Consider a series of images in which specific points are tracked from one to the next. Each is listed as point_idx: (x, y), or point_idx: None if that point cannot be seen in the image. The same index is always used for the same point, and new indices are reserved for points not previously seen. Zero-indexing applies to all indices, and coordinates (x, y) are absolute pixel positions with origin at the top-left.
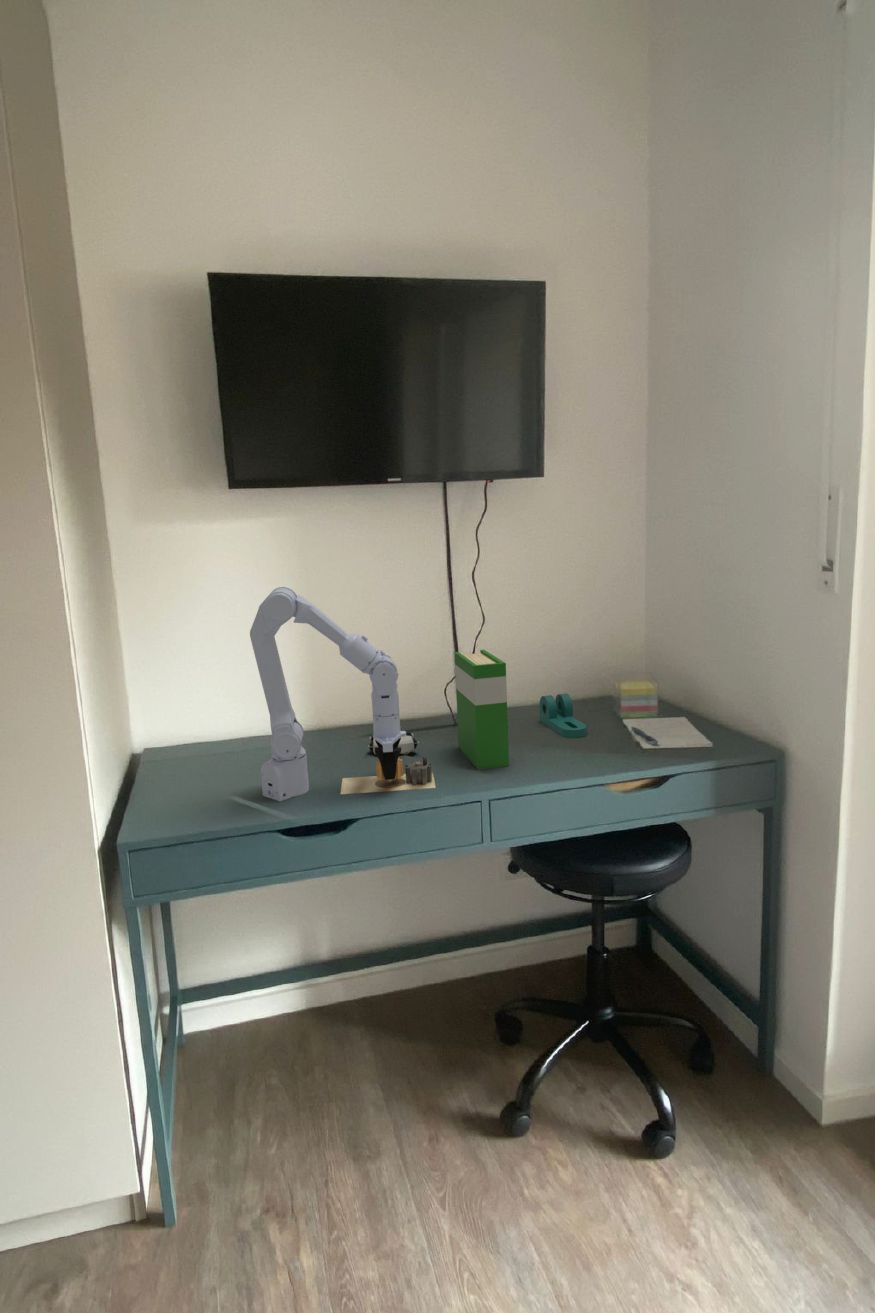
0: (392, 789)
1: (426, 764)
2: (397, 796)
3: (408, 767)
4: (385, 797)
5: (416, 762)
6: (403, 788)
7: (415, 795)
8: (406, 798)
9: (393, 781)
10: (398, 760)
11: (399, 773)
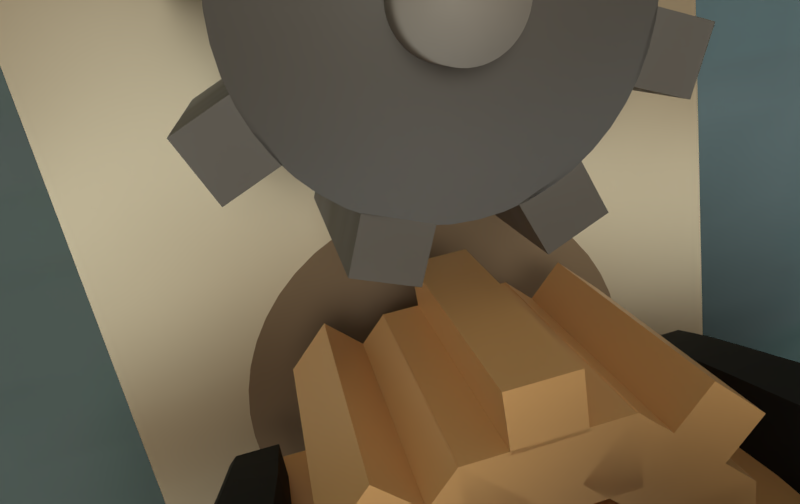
0: (668, 299)
1: None
2: (702, 214)
3: (563, 190)
4: (708, 327)
5: (453, 37)
6: (653, 177)
7: (705, 8)
8: (772, 102)
9: None
10: (572, 449)
11: (617, 304)
